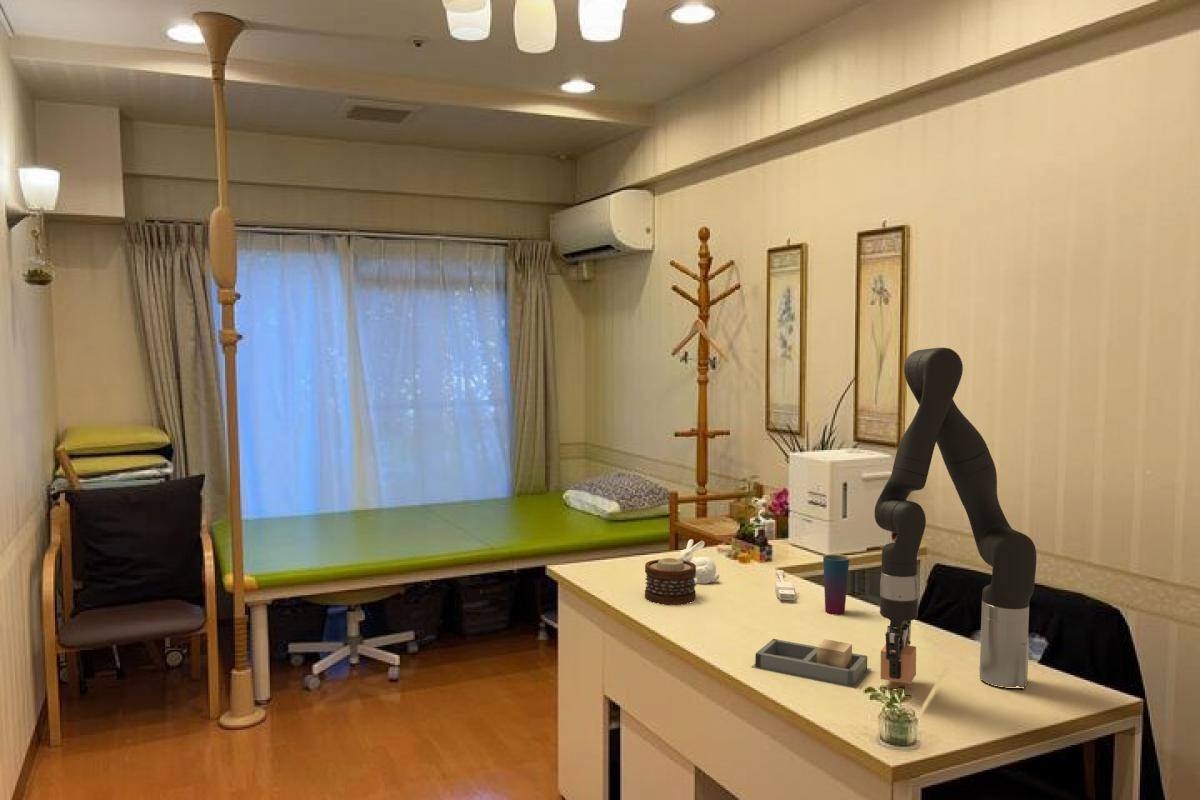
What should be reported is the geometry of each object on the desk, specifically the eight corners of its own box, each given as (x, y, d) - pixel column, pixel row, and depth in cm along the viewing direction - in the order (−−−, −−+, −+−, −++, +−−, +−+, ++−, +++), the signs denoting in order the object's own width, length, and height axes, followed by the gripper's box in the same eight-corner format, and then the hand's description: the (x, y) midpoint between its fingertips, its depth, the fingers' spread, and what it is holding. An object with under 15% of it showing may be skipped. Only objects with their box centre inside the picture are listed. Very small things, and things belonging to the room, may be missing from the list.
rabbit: (677, 582, 271) (677, 543, 270) (685, 575, 280) (685, 537, 279) (716, 586, 267) (717, 546, 266) (723, 578, 275) (724, 540, 275)
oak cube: (851, 670, 197) (852, 643, 196) (843, 679, 191) (844, 652, 191) (824, 665, 200) (825, 639, 199) (816, 674, 195) (816, 647, 194)
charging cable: (787, 577, 282) (787, 566, 282) (796, 603, 250) (796, 591, 250) (770, 576, 283) (771, 566, 283) (777, 602, 251) (778, 590, 251)
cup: (830, 616, 238) (831, 561, 237) (817, 609, 245) (818, 555, 244) (852, 615, 240) (854, 559, 239) (839, 607, 246) (840, 553, 245)
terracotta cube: (915, 674, 190) (916, 646, 189) (910, 684, 184) (910, 655, 184) (886, 669, 193) (886, 642, 192) (880, 679, 187) (880, 650, 187)
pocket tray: (871, 673, 198) (871, 655, 198) (855, 692, 187) (855, 674, 187) (771, 654, 210) (771, 637, 209) (750, 671, 198) (751, 653, 198)
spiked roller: (670, 551, 265) (707, 561, 254) (669, 587, 266) (707, 598, 254) (633, 559, 255) (671, 569, 244) (633, 596, 256) (670, 608, 245)
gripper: (911, 605, 179) (910, 687, 180) (924, 587, 192) (923, 664, 193) (872, 600, 183) (872, 681, 184) (887, 583, 195) (887, 659, 197)
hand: (898, 672), depth 188 cm, fingers closed on terracotta cube, 6 cm apart
